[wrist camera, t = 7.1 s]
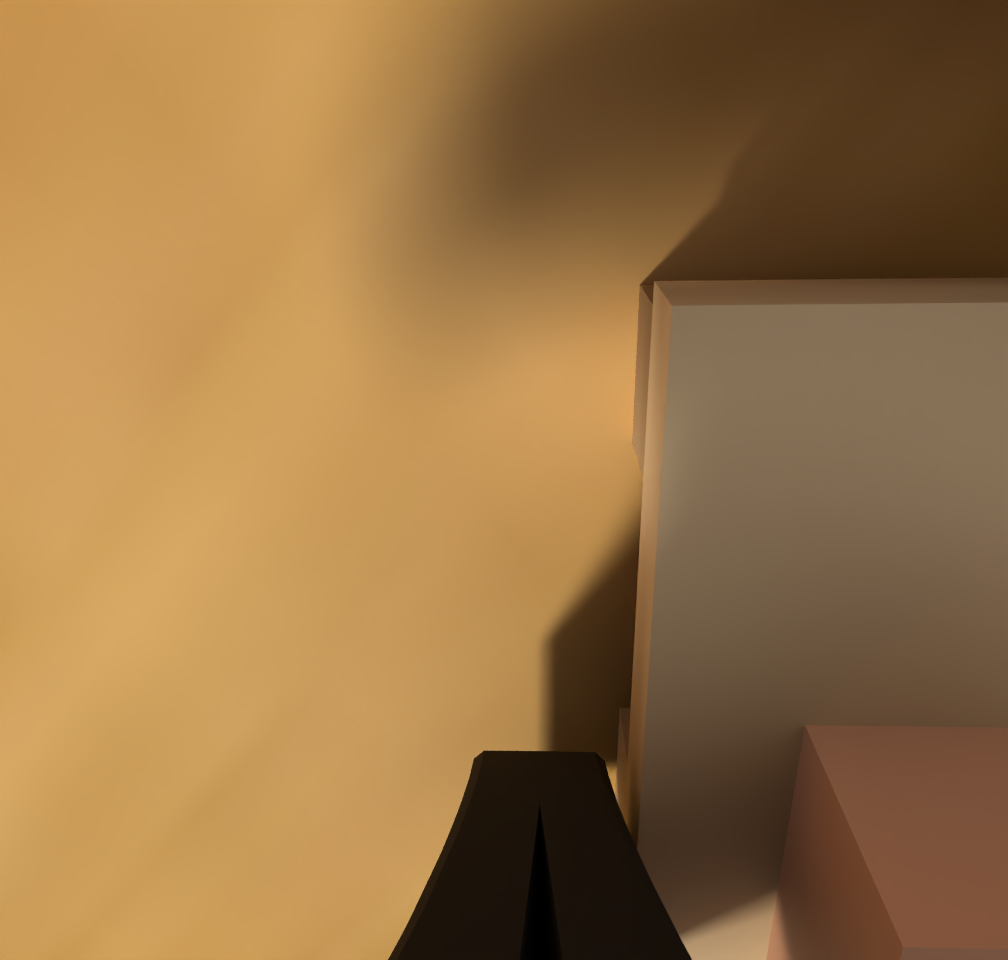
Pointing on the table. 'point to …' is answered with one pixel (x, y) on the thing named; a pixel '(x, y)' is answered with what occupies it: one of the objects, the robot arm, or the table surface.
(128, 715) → the table surface
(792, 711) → the plate
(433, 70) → the table surface
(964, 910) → the pink square block
